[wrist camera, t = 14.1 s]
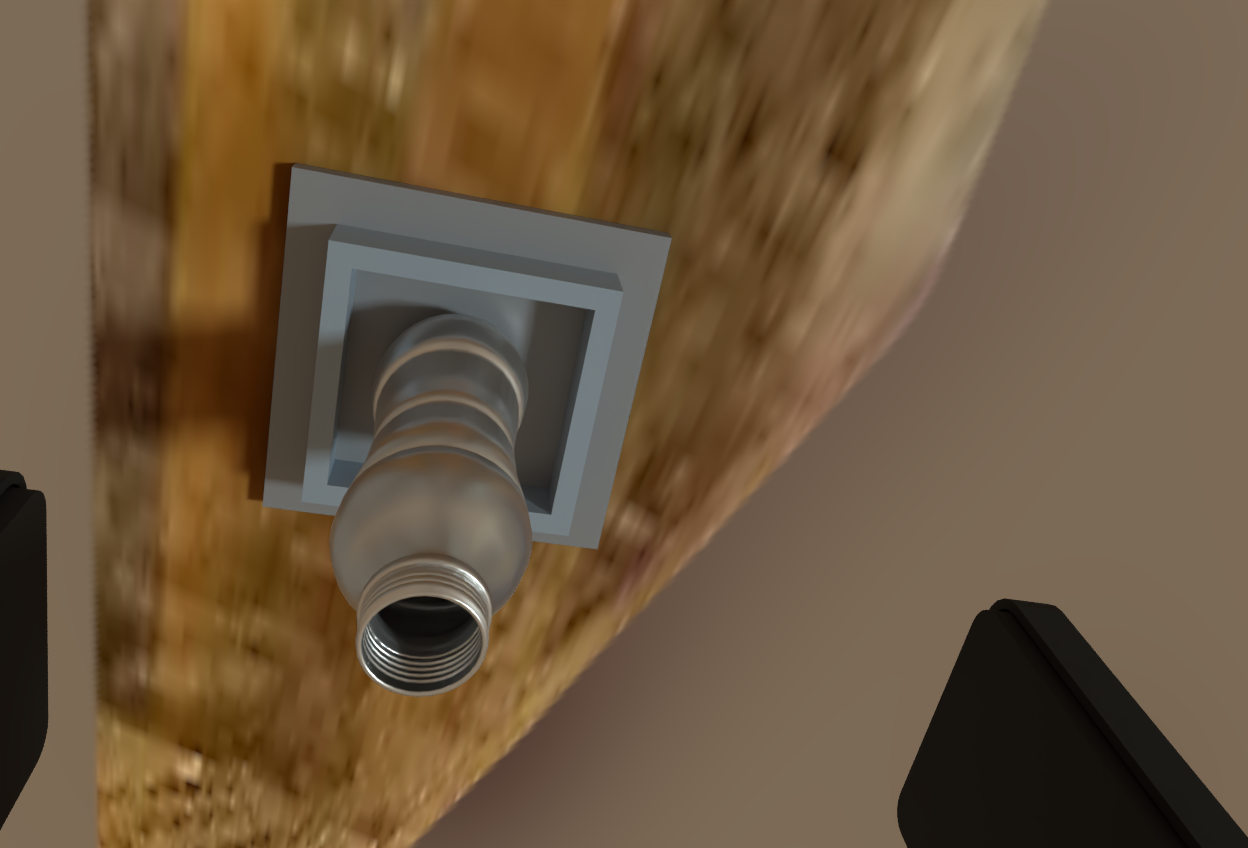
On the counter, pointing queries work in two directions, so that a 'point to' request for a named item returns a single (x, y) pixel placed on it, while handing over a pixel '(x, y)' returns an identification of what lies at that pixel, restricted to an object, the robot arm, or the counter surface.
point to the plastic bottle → (435, 506)
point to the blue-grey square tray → (469, 285)
